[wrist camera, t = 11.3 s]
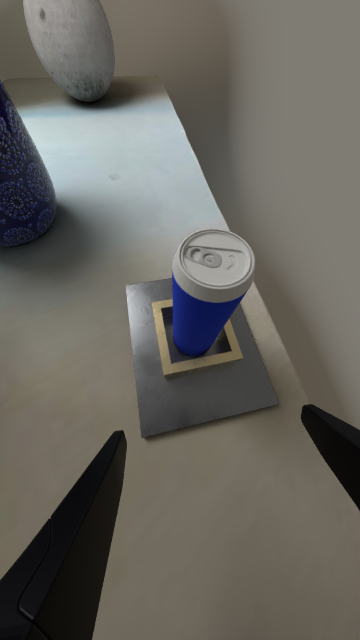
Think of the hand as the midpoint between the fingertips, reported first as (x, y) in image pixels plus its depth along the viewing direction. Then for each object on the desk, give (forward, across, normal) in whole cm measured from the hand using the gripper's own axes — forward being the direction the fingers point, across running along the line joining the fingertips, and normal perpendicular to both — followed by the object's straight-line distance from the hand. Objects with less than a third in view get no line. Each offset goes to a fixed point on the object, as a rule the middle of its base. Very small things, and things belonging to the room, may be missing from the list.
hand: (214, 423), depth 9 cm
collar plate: (+16, -1, +3) cm, 16 cm away
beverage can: (+15, -1, +3) cm, 16 cm away
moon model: (+71, +19, -56) cm, 92 cm away
